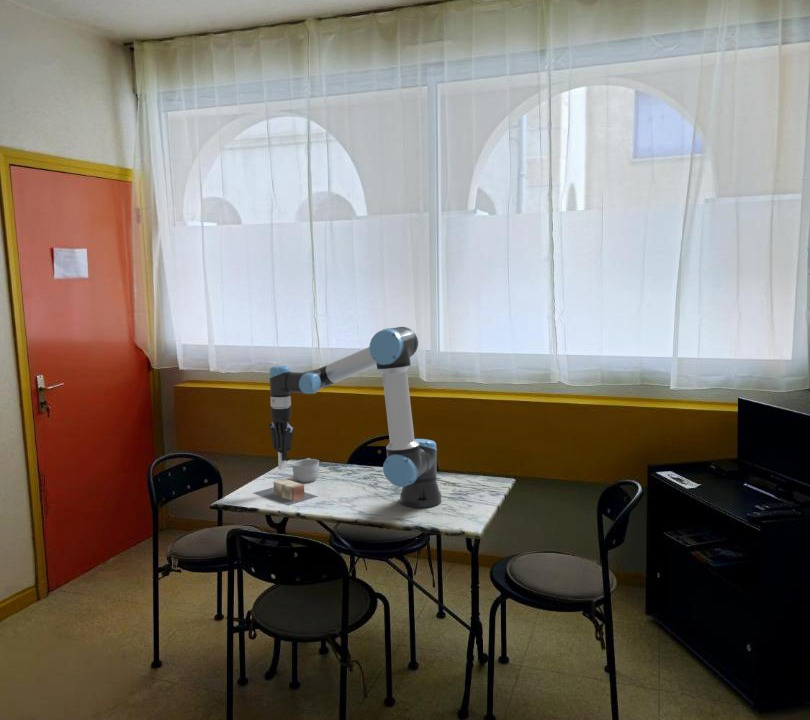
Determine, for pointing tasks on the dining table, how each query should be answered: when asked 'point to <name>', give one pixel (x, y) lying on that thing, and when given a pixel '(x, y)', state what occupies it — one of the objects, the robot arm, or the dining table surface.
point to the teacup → (306, 470)
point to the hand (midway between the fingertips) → (282, 468)
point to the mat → (270, 495)
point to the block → (289, 489)
